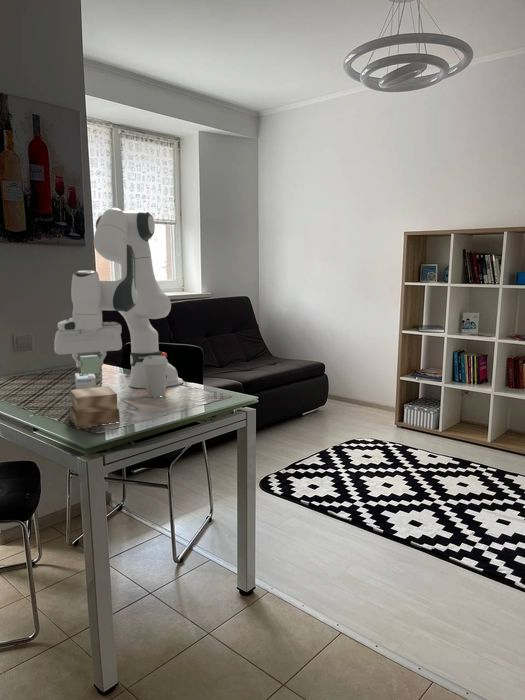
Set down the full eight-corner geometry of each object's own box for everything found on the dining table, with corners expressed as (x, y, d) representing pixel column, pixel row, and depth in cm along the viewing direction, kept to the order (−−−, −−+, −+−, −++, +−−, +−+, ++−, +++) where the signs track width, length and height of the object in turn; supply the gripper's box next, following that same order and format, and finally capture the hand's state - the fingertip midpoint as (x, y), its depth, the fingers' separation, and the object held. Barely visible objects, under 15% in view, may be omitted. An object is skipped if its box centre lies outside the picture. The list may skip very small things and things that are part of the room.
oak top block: (109, 400, 174) (108, 386, 173) (117, 409, 163) (116, 393, 163) (71, 405, 168) (70, 390, 167) (77, 414, 158) (77, 398, 157)
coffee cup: (147, 392, 204) (145, 355, 201) (171, 392, 203) (170, 355, 201) (140, 398, 194) (139, 359, 192) (166, 398, 194) (164, 359, 192)
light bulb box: (75, 401, 190) (73, 373, 188) (94, 399, 193) (93, 371, 191) (77, 409, 180) (75, 378, 178) (97, 407, 183) (96, 377, 181)
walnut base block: (110, 414, 175) (109, 400, 174) (119, 424, 164) (119, 409, 163) (70, 419, 169) (69, 405, 168) (77, 430, 158) (76, 414, 157)
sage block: (96, 370, 167) (96, 354, 166) (100, 372, 163) (99, 357, 162) (80, 371, 165) (79, 356, 164) (83, 374, 160) (82, 358, 160)
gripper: (118, 320, 169) (120, 361, 171) (52, 323, 159) (54, 367, 161) (123, 322, 164) (125, 365, 166) (54, 325, 154) (57, 370, 156)
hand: (89, 366), depth 164 cm, fingers closed on sage block, 5 cm apart
